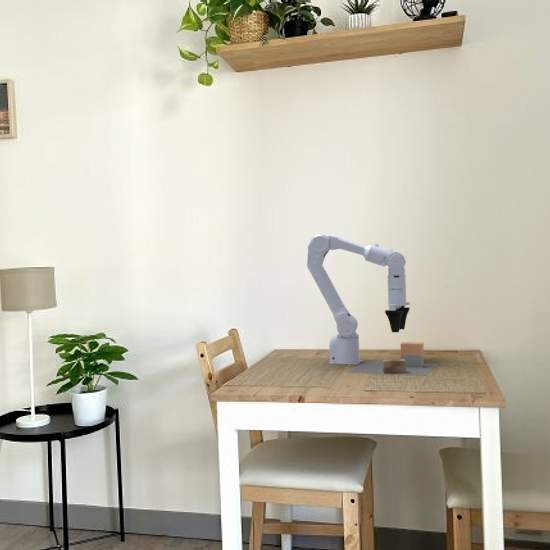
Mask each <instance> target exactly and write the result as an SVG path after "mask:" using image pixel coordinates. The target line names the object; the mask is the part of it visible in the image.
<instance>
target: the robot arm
mask: <svg viewBox="0 0 550 550" xmlns="http://www.w3.org/2000/svg"><path fill="white" fill-rule="evenodd" d="M330 250H331V251H337V250H343V251H345V252H346V251H347V252H351V253H353V254H356V255H361V256H363V258H364V260H365V261H366V262H369V263H372V264H375V265H378V266H381V267H386V266H387V267H388V275H387V297H388V300H387V306H388V309H386V310H384V313H385V315H386V317H387V319H388V322H389V326H390V330H391V333H399V332H400V330H405V327H406V323H407V321H406V320H407V318H408V317H407V316H408V314H409V312H410V307H407V306H409V305H411V302H407V292H406V291H407V285H406V284H407V282H406V280H407V279H406V278H407V277H406V274H405V273H406V270H405V266H406V259H405V256H404V255H403V254H402V253H400V252H398V251H394V250H393V249H392V248H390V249H388V248H384V247H382V246H380V245H379V244H378V243H374V244H369V245H367V246H364V245H363V244H362V245H361V244H359V243H356V242H353V241H350V240H348V239H345V238H343V237H338V236H331V235H326V234H321V233H319V234H315V235H313V236H312V237H311V239H310V241H309V243H308V245H307V261H306V262H307V263H306V266H307V269H308V271H309V273H310V274H311V276H312V278H313V280H314V282H315V284H316V286H317V287H318V289H319V291H320V293H321V295H322V297H323V298H324V301H325V302H326V304H327V306H328V308H329V309H330V311H331V313H332V317H333V319H334V322H335V323H336V330H337V334H336V336H331V337H330V339H329V345H328V346H329V364H340V365H341V364H342V365H346V364H347V365H359V364H361V363H362V362H364V360H363V359H360V341H359V340H360V338H359V336H360V335H359V334H358V333H357V332H356V331H357V329H358V324H359V323H358V320H357V318H356V317H354V316H353V315H351V313H350V312H349V310H348V309H347V307H346V305H345V304H344V302H343V300H342V298H341V297H340V295H339V293H338V292H337V291H338V290H337V289H336V287H335V286H334V283H333V282H332V280H331V278H330V276H329V274H328V273H327V270H326V269H325V267H324V266H323V264H324V261H325V258H326V256H327V254H328V253H329V252H330ZM393 251H394V252H393Z"/></svg>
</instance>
